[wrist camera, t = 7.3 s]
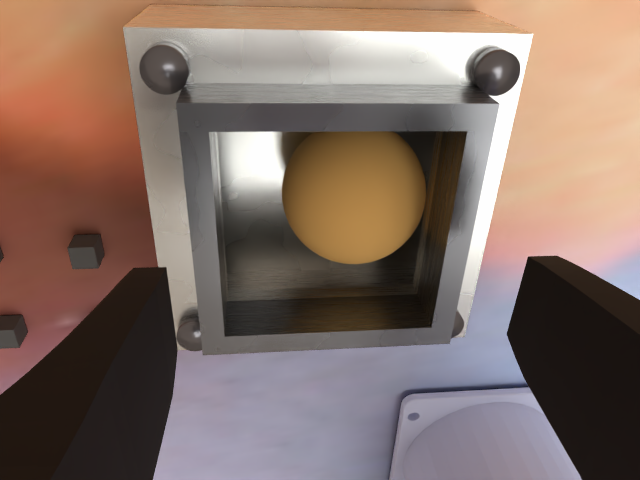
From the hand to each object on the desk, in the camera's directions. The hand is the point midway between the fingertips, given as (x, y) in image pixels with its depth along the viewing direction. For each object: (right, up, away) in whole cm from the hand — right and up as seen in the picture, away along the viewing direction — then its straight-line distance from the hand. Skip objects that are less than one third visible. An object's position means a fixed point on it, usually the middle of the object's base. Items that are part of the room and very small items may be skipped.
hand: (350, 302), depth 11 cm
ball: (-1, +3, +6) cm, 7 cm away
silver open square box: (-1, +4, +6) cm, 7 cm away
